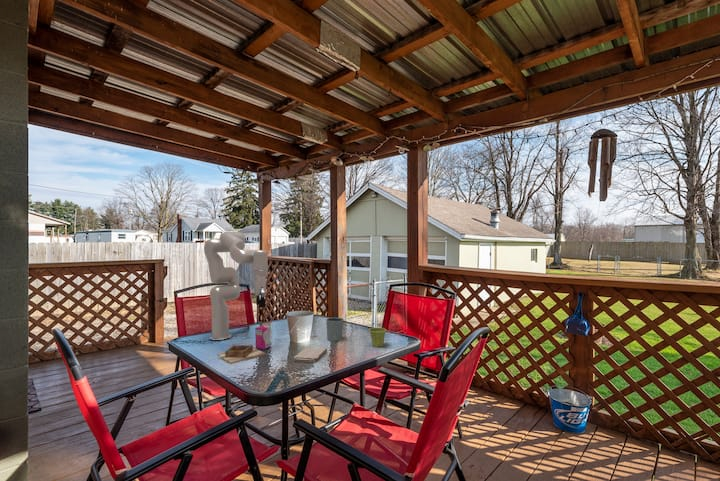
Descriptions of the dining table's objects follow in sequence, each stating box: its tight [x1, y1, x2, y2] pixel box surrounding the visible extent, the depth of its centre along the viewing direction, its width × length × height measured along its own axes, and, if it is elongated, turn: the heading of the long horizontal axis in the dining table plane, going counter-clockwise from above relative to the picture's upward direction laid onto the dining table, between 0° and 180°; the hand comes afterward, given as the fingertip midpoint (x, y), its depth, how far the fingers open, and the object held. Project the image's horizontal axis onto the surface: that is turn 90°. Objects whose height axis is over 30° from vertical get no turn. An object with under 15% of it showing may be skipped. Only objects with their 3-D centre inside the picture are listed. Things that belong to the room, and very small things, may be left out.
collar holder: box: [216, 344, 266, 365], centre depth 171 cm, size 16×18×4 cm
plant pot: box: [368, 327, 387, 348], centre depth 186 cm, size 9×9×9 cm
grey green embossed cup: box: [326, 316, 345, 343], centre depth 199 cm, size 10×10×12 cm
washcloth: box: [292, 347, 328, 364], centre depth 168 cm, size 12×18×3 cm, turn 168°
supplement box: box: [254, 325, 272, 351], centre depth 183 cm, size 6×6×12 cm
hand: (260, 305), depth 179 cm, fingers open, 9 cm apart
